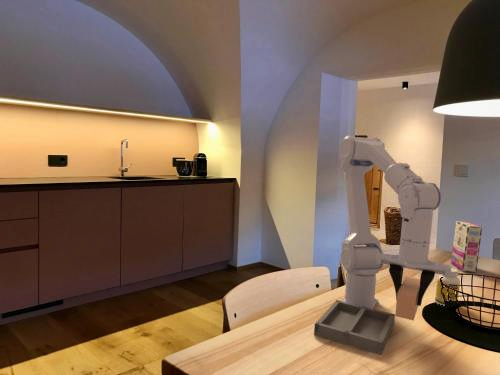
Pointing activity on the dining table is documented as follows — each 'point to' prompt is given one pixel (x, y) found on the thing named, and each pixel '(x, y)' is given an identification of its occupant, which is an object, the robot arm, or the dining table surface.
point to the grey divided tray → (356, 326)
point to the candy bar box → (466, 246)
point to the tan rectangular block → (408, 298)
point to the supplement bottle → (448, 281)
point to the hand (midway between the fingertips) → (408, 301)
